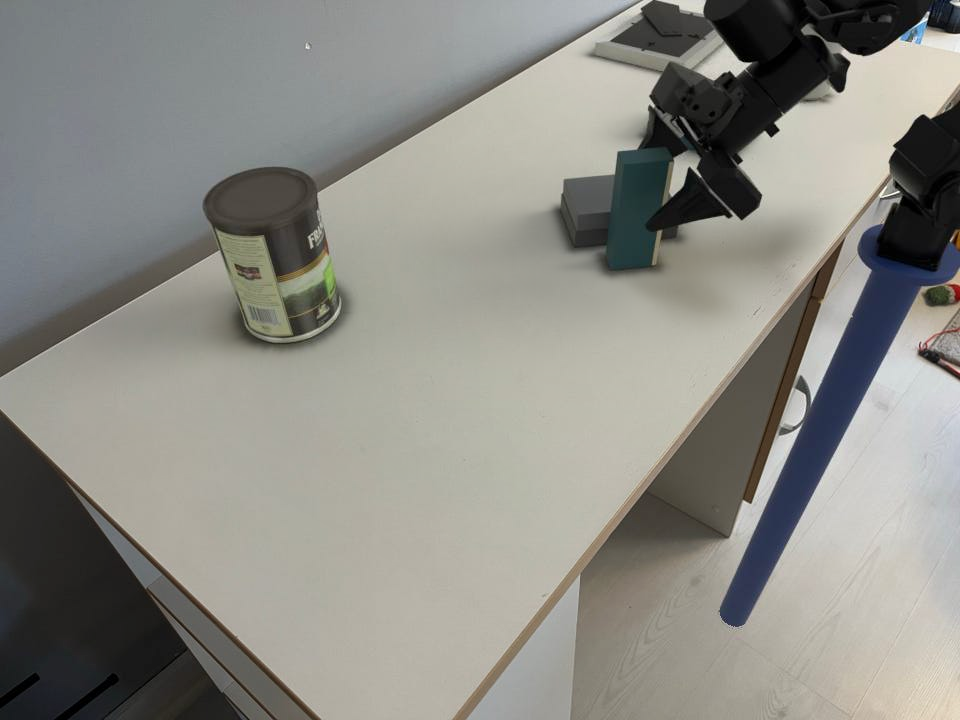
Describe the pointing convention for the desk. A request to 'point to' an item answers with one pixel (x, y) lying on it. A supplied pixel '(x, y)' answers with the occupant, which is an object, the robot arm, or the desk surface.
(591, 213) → the grey books
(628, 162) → the teal book
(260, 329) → the coffee can
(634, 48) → the picture frame
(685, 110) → the robot arm
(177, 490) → the desk surface
